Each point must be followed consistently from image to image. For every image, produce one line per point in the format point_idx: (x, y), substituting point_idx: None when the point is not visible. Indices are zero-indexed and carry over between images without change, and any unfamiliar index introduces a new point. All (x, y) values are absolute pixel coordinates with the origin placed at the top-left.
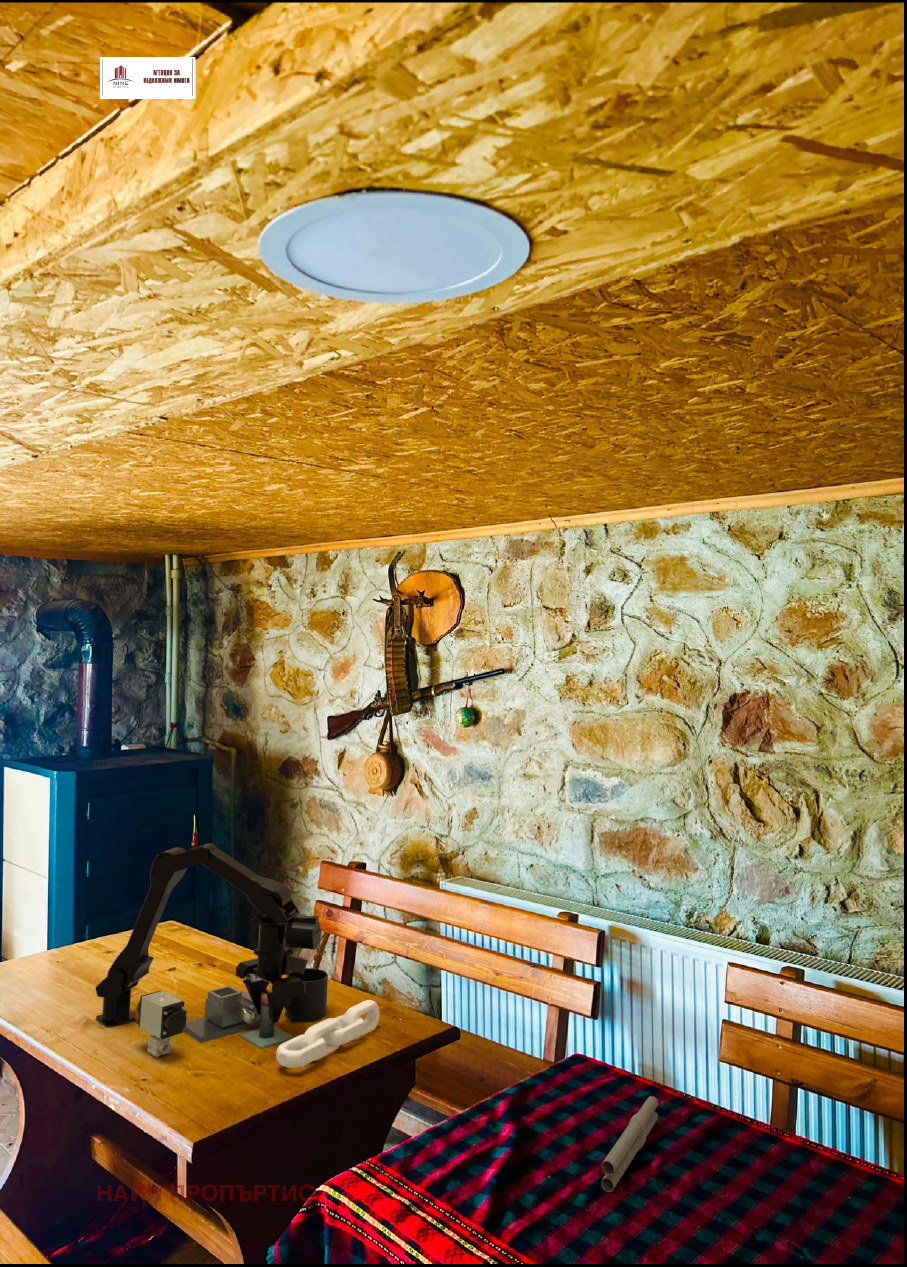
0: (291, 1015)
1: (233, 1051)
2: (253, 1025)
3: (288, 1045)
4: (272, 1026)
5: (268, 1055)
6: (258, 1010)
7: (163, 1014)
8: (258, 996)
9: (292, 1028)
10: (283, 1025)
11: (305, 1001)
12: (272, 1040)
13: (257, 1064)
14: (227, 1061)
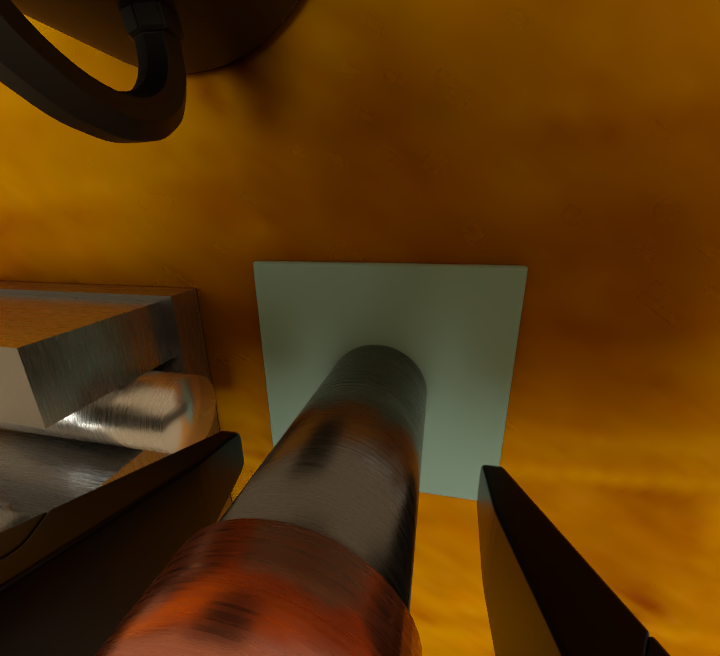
0: (203, 53)
1: (413, 578)
2: (200, 353)
3: None
4: (423, 427)
5: (603, 520)
6: (224, 501)
7: None
8: (89, 644)
9: (361, 153)
10: (275, 179)
11: None
12: (467, 408)
13: (644, 613)
14: (488, 649)
